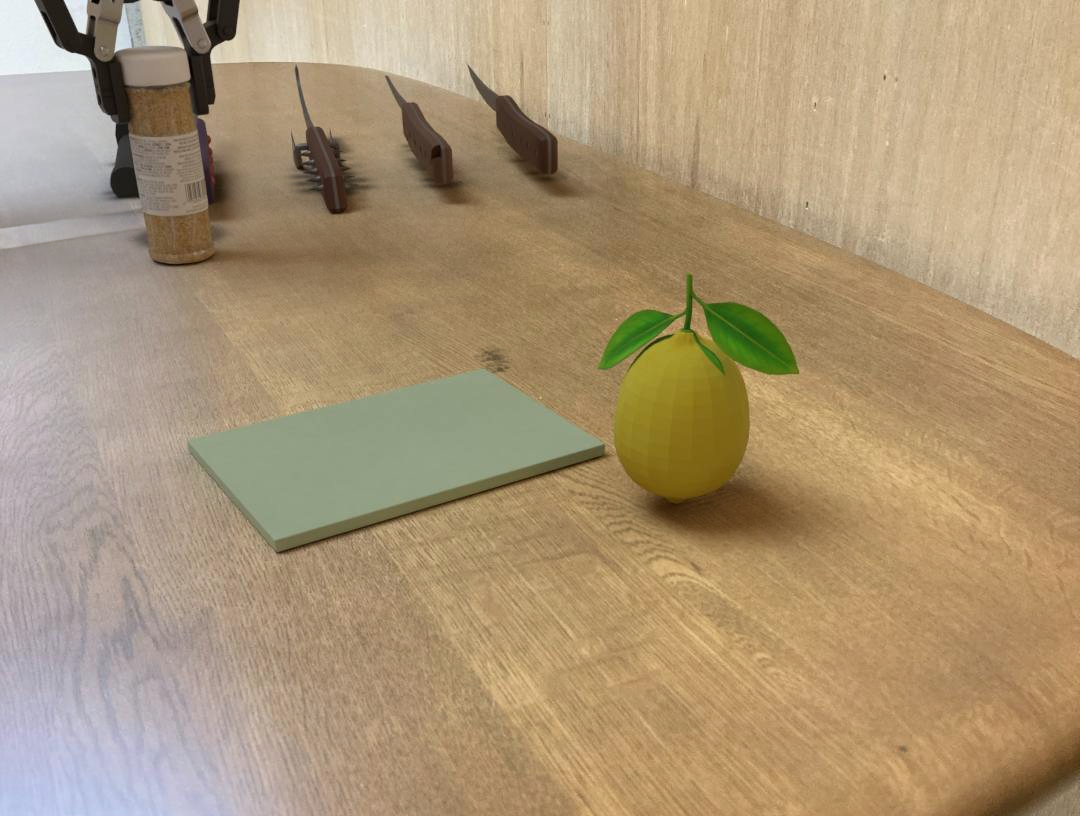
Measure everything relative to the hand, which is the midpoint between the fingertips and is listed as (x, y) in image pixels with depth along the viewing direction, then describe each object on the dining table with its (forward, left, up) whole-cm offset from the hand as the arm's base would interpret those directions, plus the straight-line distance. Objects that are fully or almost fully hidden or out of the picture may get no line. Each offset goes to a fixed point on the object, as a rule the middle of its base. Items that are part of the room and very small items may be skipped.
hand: (160, 116), depth 75 cm
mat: (-2, -36, -9) cm, 37 cm away
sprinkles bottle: (0, 0, -10) cm, 10 cm away
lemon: (+6, -47, -10) cm, 48 cm away
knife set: (+19, +20, -10) cm, 30 cm away
